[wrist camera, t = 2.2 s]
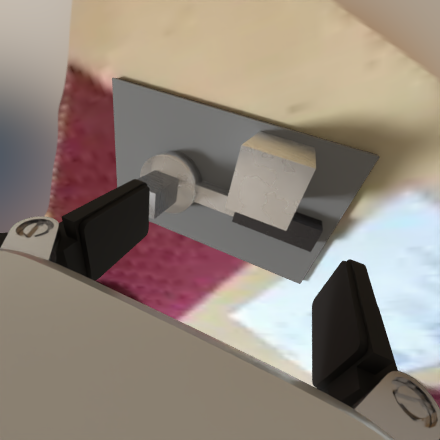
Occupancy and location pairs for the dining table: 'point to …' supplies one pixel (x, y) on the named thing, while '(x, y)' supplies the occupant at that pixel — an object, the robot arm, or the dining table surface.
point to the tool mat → (230, 171)
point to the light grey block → (271, 179)
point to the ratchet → (212, 199)
